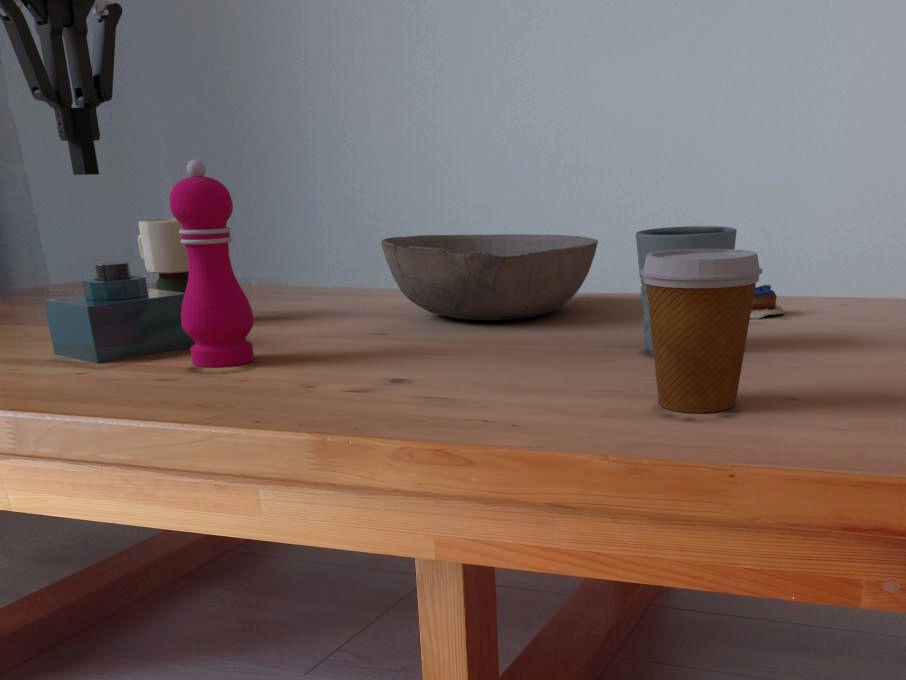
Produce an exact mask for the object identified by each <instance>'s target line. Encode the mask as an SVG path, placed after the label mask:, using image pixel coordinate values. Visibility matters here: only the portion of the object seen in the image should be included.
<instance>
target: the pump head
mask: <svg viewBox="0 0 906 680" xmlns="http://www.w3.org/2000/svg"><path fill="white" fill-rule="evenodd" d="M93 266H94V271H95V277H97V281H109V280H122V279H130V278H132V277H131V275H132V272H131V265H130V262H129V261H104V262H97V263H94V264H93Z"/></svg>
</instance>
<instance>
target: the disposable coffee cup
mask: <svg viewBox="0 0 906 680" xmlns="http://www.w3.org/2000/svg"><path fill="white" fill-rule="evenodd" d="M763 272H764V271H763V268H761V267H760V262H759V256H758V253H757V252H755V251H751V250H746V249H734V250H733V249H684V250H669V251H659V252H653V253H649V254H647V256H646V260H645V265H644V269H643V270H641V271H640V273H641V275H642V276H643V279H644V283H645V284H646V288H647V297H648V307H649V316H650V326H651V335H652V344H653V351H652V352H653V362H654V368H655V369H654V371H655V377H656V378H655V379H656V389H657V398H658V405H659V406H660V407H661V408H664V409H667V410H670V411H674V412H681V413H690V414H691V413H692V414H695V413H699V414H700V413H715V412H721V411H727V410H729V409H731V408H733V407H735V406H736V404H737V397H738V391H739V384H740V379H741V373H742V367H743V361H744V356H745V351H746V343H747V338H748V334H749V333H748V332H749V327H750V326H749V325H750V320H751V318H750V315H751V309H752V304H753V297H754V291H755V287H756V284H757V283H758V282H759V281H760V275H762V274H763Z"/></svg>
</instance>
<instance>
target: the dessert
mask: <svg viewBox="0 0 906 680" xmlns="http://www.w3.org/2000/svg"><path fill="white" fill-rule="evenodd" d="M777 297H778V295H777V294H776V293H775V291H774V290H773V289H772V286H771V285H770V284H763V285H760V286H755V291H754V297H753V304H752V309H751V315H750V319H755V320H757V319H761V318H764V317H765V316H769V315H770V316H771V315H772V316H773V315H780V314H781V315H782V314H785V310H784V308H783V307H782V306H780V305H778V304H777V299H778V298H777Z"/></svg>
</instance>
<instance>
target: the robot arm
mask: <svg viewBox="0 0 906 680" xmlns="http://www.w3.org/2000/svg"><path fill="white" fill-rule="evenodd" d="M22 5H23V6H24V7H25V9H26V10H27V11H28V13H29V14H31V16H32V18H33V22H34V27H35V32H36V34H37V35H38V37H39V42H40V48H41V54H42V56H41V54H40V52H39V50H38V47H37V44H36V42H35V39H34V37H33V34H32V32H31V29H30V26H29V24H28V21H27V19H26V17H25V15H24V13H23V11H22V9H23V8H22V7H23V6H22ZM92 9H93V10H92ZM91 10H92V17H94V18H95V20H94V25H93V29H92V30H93V31H92V51H91V56H90V49H89V44H88V43H89V42H88V33H89V28H88V22H87V19H88V17H89V14H90V12H91ZM123 11H124V10H123V7H122V5H121V4H119V3H117V2H110V1H109V0H0V20H1V22H2V24H3V26H4V29H5V31H6V34H7V36H8V39H9V41H10V43H11V47H12V49H13V51H14V53H15V56H16V58H17V61H18V63H19V66H20V68H21V70H22V74H23V75H24V78H25V81H26V84H27V86H28V88H29V90H30V93H31V95H32V98H33V99H34V100H36V101H38V102H39V101H41V102H42V103H45V104H47V105H48V106H49V107H50V108H52V109H53V110H54V111H53V112H54V115H55V122H56V127H57V134H58V136H59V137H58V138H59V139H60V141H61V142H67V145H68V150H69V157H70V163H71V169H72V173H73V176H83V175H85V176H86V175H87V176H88V175H100V171H99V164H98V159H97V153H96V152H97V151H96V146H95V142H96V141H100V138H101V132H100V131H101V130H100V127H99V119H98V113H97V108H98V107H99V106H100V105H101V104H103V103H106V102H109V101H111V100H112V99H113V90H114V89H113V88H114V72H115V71H114V70H115V54H116V52H115V51H116V36H117V35H116V34H117V26H118V24H119V23H120V22H119V21H120V19H121V17H122V15H123ZM65 51H66V52H65ZM67 64H68V65H67ZM71 86H72V87H71ZM72 92H73V93H72ZM73 98H74V99H73ZM73 103H75V106H76V107H73Z"/></svg>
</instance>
